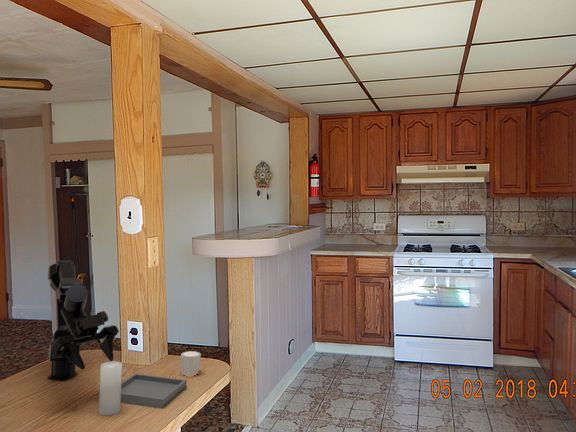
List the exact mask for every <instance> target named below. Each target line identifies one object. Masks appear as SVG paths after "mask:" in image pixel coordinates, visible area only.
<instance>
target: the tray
mask: <svg viewBox="0 0 576 432" xmlns="http://www.w3.org/2000/svg"><path fill="white" fill-rule="evenodd" d="M185 388H186V389H187V379H182V378H181V379H180V378H173V377H166V376H158V375H157V376H156V375H150V374H142V373H134V374H132V375H130V376H129V377H127V378H126V379H124V380H123V381H121V403H123V404H130V405H135V406H136V405H137V406H143V407H151V408H159V409H163V408H165V407H166V406H167V405H168V404H169V403H171V402H172V401H173V400H174V399H175V398H177V396H179V395H180V394H181V393H182V392H183V391H185Z"/></svg>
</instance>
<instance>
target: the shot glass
mask: <svg viewBox="0 0 576 432" xmlns="http://www.w3.org/2000/svg"><path fill="white" fill-rule="evenodd" d="M201 355H202V354H201V352H199V351H195V350H189V351H183V352H182V353H181V354H180V361H181V362H180V365H181V375H182V374H183V375H192V374H195V373H197V372H198V371H200V363H201V358H202V357H201ZM198 373H199V372H198ZM183 375H182V376H183Z"/></svg>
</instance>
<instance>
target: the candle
mask: <svg viewBox="0 0 576 432" xmlns="http://www.w3.org/2000/svg"><path fill="white" fill-rule="evenodd" d="M99 374H100V375H99V377H100V379H99V395H98V400H99V401H98V414H99V415H101V416H106V417H107V416H113V415H116V414H118V413H120V412H121V403H122V402H121V382H123V381H122V377H123V375H122V374H123V363H122V362H121V361H114V360H113V361H105V362H104V363H101V364H100V373H99Z"/></svg>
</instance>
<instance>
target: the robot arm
mask: <svg viewBox="0 0 576 432" xmlns="http://www.w3.org/2000/svg"><path fill="white" fill-rule="evenodd" d="M76 269H77V267H76V265H75V263H74V260H71V259H69V260H68V259H67V260H63V259H60V260H58V261H56V262H55V263H54V264H51V265H49V266H48V271H47V280H49V287H50V288H51V289H52V290H53V291H54V292H55V293H54V294H55V313H56V315H55V316H56V318H55V319H56V320H55V321H56V330H55V332H54V334H53V335H52V338H51V341H50V342H49V347H48V360H49V362H51V370H50V371H51V372H50V375H48V376H47V379H50V378H51V379H52V380H56V381H57V380H58V381H67V380H68V379H70V378H72V377H74V376H77V375H78V372H76V367H77V368H79V369H80V370H82V371H83V370H84V369H86V366H85V365H86V364H85V363H84V360H83V358H82V357H81V354H80V350H81V346H82V344H87V343H89V342H90V343H91V342H93V341H94V342H95V341H97V343H98V344H99V348H100V350H101V351H102V352H103V354H104V355H105V357H106V358H107V359H108V361H109V362H111V361H114V351H113V349H114V348H113V342H114V339H115V338H116V337H117V335H118V333H119V332H120V331H119V329H118V327H117V325H115V324H114V325H108V326H104V325H105V323H106V322H108V321H109V316H108V314H107V313H106V311H105V310H102V311H99V312H97V313H96V314H93V315H89V314H88V315H87V314H86V312H85V308H86V305H87V304H86V303H87V301H88V300H87V299H88V297H89V295H90V292H89V291H88V290H87V287H86V286H85V285H84V284H83V282H82V280H81V279H78V278H77V277H76V276H77V273H76V272H77V270H76ZM100 326H103V328H102V329H101V330H100V331H99V332H97V331H98V330H99V327H100Z"/></svg>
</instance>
